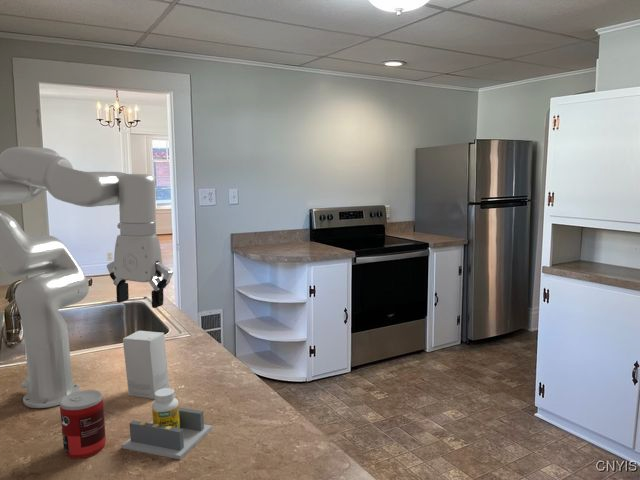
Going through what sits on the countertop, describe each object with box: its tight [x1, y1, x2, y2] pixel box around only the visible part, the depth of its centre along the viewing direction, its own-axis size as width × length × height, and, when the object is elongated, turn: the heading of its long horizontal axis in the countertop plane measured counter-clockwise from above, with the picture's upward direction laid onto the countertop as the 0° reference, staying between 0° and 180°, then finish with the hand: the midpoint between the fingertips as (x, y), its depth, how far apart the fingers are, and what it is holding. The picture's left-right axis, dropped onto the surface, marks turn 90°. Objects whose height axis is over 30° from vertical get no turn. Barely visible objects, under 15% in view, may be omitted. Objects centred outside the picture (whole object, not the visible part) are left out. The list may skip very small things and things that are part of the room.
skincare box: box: [122, 330, 170, 400], centre depth 124 cm, size 8×7×16 cm
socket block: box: [121, 406, 213, 461], centre depth 103 cm, size 14×12×5 cm
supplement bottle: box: [151, 387, 180, 429], centre depth 103 cm, size 5×5×10 cm
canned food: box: [59, 389, 107, 459], centre depth 99 cm, size 8×8×11 cm
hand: (139, 303), depth 111 cm, fingers open, 9 cm apart
